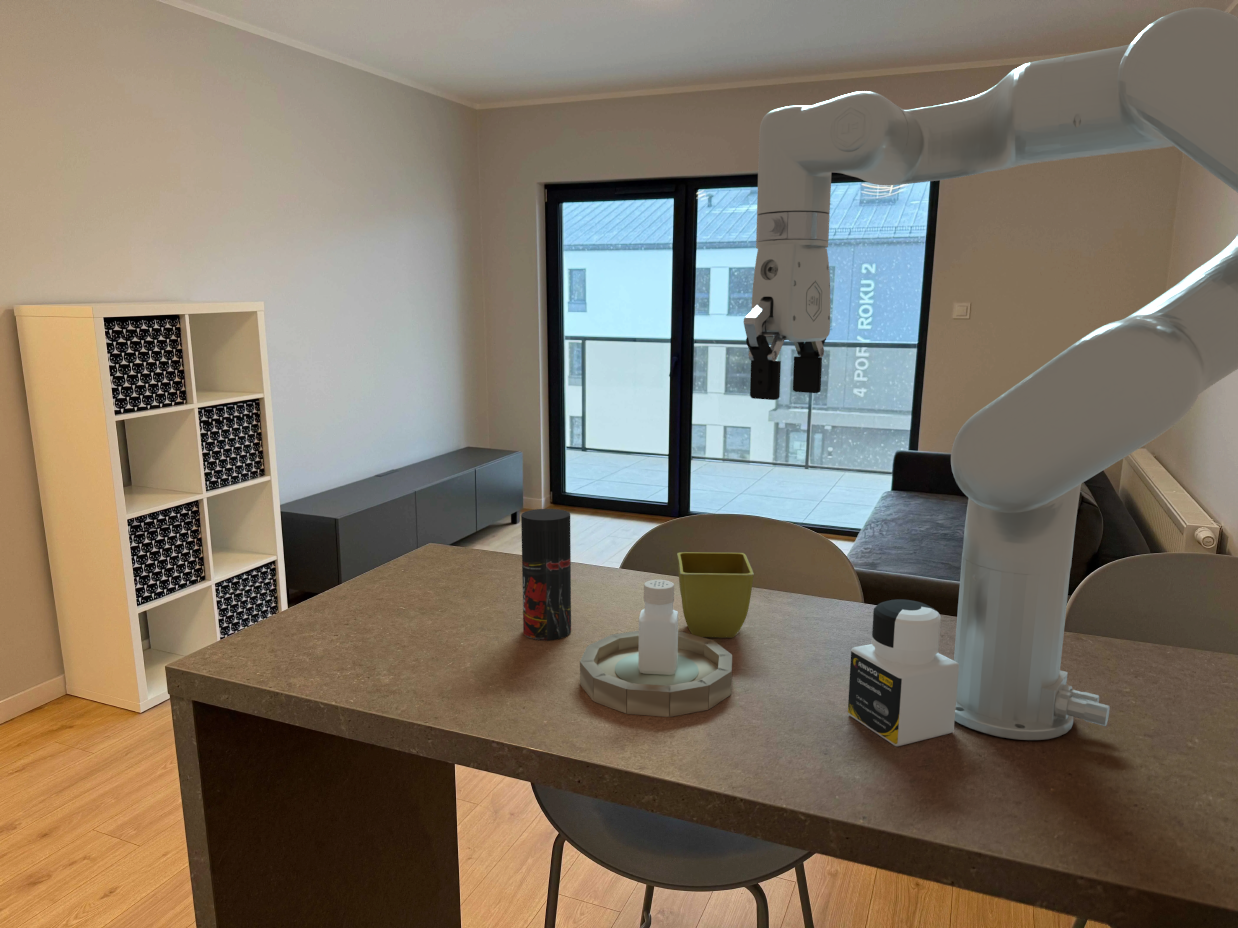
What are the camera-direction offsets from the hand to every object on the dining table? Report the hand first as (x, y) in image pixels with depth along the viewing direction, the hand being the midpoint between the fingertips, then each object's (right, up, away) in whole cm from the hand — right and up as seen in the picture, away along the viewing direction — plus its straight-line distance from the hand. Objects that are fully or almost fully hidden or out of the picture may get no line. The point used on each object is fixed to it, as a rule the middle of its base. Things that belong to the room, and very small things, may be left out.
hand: (786, 395), depth 92 cm
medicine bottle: (+9, -33, -10) cm, 36 cm away
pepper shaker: (-14, -30, -1) cm, 33 cm away
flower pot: (-7, -29, +13) cm, 32 cm away
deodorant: (-27, -29, +13) cm, 42 cm away
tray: (-14, -31, -1) cm, 34 cm away
